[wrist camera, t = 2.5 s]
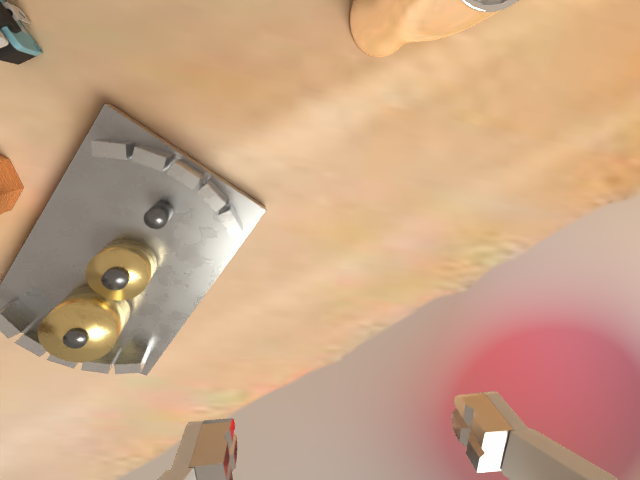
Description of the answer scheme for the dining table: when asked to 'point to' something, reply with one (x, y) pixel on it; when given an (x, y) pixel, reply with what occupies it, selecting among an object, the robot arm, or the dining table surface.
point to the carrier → (122, 250)
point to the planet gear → (8, 185)
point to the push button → (15, 36)
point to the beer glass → (414, 21)
